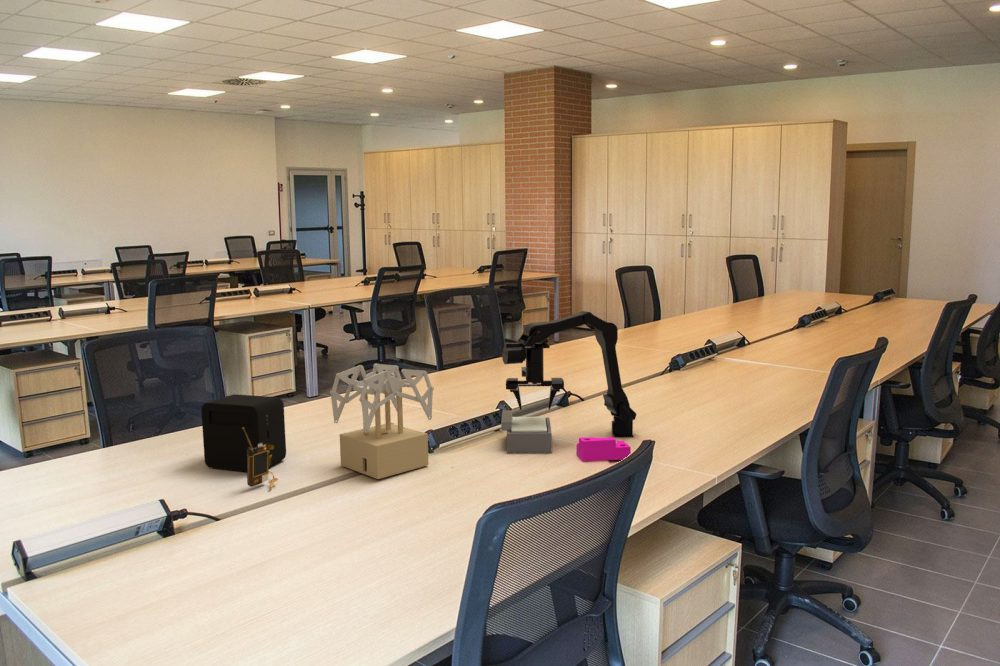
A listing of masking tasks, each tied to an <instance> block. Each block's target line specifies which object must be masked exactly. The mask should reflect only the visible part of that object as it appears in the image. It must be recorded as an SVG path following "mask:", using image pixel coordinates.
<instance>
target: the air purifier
mask: <svg viewBox="0 0 1000 666" xmlns="http://www.w3.org/2000/svg"><path fill="white" fill-rule="evenodd" d="M200 410H201V422H202V423H201V424H202V438H203V439H202V441H203V454H204V455H203V456H204V457H203V458H204V463H205V464H206V466H207V467H209V468H210V467H212V468H211V469H216V468H218V469H217V470H225V469H227V471H237V472H246V473H247V449H248V448H249V447H250V445H249V443H248V440H247V437H246V435H245V432H246V434H247V436H248V438H249V440H250V442H251V445H252V447H254V446H255V447H256V446H258V444H260V443H262V445H263V444H266V445H273V446H274V449H272V450H271V449H269V455H272V456H271V459H270V466H269V467H271V466H273V465H275V464H277V463H279V462H282V461H283V460H285V458H286V456H287V444H286V443H287V441H286V424H285V420H286V419H285V405H284V401H283V400H282V399H281V398H280V397H277V396H267V395H265V396H264V395H249V394H235V393H233V394H231V395H227V396H225V397H221V398H218V399H214V400H210V401H208V402H205V403H203V404H202V406H201V408H200ZM242 427H244V430H245V432H244V430H243V429H242ZM250 448H251V447H250ZM268 457H269V456H268Z"/></svg>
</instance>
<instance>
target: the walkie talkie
mask: <svg viewBox="0 0 1000 666" xmlns="http://www.w3.org/2000/svg"><path fill="white" fill-rule="evenodd" d="M242 429H243V430H244V427H242ZM244 432H245V430H244ZM245 435H246V437H247V440H248V443H249V445H250V447H251V448H250V447H249V448H248V449H247V472H246V474H247V477H246V479H247V486H248V487H256V486H258V485H260V484H263V483H265V482H267V481H268V480H269V474H271V475H272V479H271V480H269V481H268V484H270V485H269V486H270V487H268V489H271V488H273V486H274V483H276V482H278V480H279V478H278V477H275V475H274V473H273V472H272V471H270V470H269V468H270V467H271V466H270V459H271V456H272V455H269V449H271V450H272V449H274V446H273V445H266V444H263V445H262V443H260V444H258V446H256V447H255V446H254V447H252V445H251V442H250V440H249V438H248V436H247V434H246V432H245ZM268 456H269V457H268Z"/></svg>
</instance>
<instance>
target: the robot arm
mask: <svg viewBox="0 0 1000 666" xmlns="http://www.w3.org/2000/svg"><path fill="white" fill-rule="evenodd" d="M584 325H585V326H586V327H587V328H589V329H590V330H592V331H593V333H594V336H595V339H596V342H597V343H598V345H599V347H600V349H601V356H602V360H603V365H604V371H605V379H606V385H607V392H606V393H604V394H602V396H603V400H604V402H603V403H604V404H603V405H604V406H605V407H606V410H608V411H609V412H610V415H611V416H612V419H613V420H612V421H611V434H612V435H613V438H634V430H633V429H634V426H633V425H634V421H636V418H637V413H636V411H634V410H633V409H632V408H631V406H630V402H629V399H628V396H627V394H626V392H625V391H624V389H623V387H622V385H623V384H622V379H621V374H620V367H619V361H618V355H617V349H616V346H617V343H618V335H619V334H618V332H619V331H618V326H617V324H615V323H613V322H610V321H605V320H603V319H602V318H600V317H598V316H596V315H595V314H593V313H592V312H591V311H587V310H582V311H580V312H578V313H574V314H570V315H568V316H564V317H561V318H557V319H553V320H550V321H537V322H529V323H527V324H525V326H524V329H523V332H522V334H521V335H520V337H519V338H518V340H517V341H516V342H504V344H503V345H504V346H503V348H502V352H501V358H502V362H503V364H504V365H516V364H523V363H524V362H525V366H521V377H522V378H525V380H519V378H518V377H508V378H506V379H505V390H509V392H510V393H513V395H514V397H515V399H516V401H517V404H518V408H519V411H522V400H521V399H522V397H521V392H520V387H550V388H549V397H548V410H551V407H552V404H553V401H554V399H555V397H556V395H557V393H560V392H561V390H565V381H564V379H563V378H562V377H551V378H550V380H544V373H545V372H544V367H545V366H544V349H550V348H551V346H550V345H549V344H547V342H546V341H545V340H547V339H549V338H551V337H552V336H554V335H555V334H557V333H562V332H564V331H567V330H571V329H574V328H577V327H582V326H584Z"/></svg>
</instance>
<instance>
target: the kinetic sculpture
mask: <svg viewBox="0 0 1000 666" xmlns="http://www.w3.org/2000/svg"><path fill="white" fill-rule="evenodd" d="M372 368H373V369H372V371H371V372H369V373H366V370H365V368H364V366H363V365H362V364H359V365H357V366H353V367H352V368H348V369H346V370H343V371H341V372H337V373H336V374H335V379H334V381H333V384H332V389H331V390H330V391H329V394H330V399H331V407H332V408H331V409H332V413H333V415H332V416H333V422H334V424H338V422H339V420H340V417H341V415H342V413H343V410H344V408H345V405H346V404H349V403H350V402H351V401H352V400H354V399H356V398H357V397H359V396H360V397H359V400H358V401H359V402H360V403H361V412H362V422H363V424H362V425H363V428H362V429H361V428H360V429H357V430H353V431H348V432H347V431H346V432H343V433H339V452H340V454H339V455H340V466H341V467H344V468H347V469H349V470H352V471H355V472H357V473H360V474H363V475H366V476H368V477H371V478H373V479H376V480H379V479H384V478H387V477H391V476H394V475H397V474H398V475H399V474H401V473H406V472H409V471H413V470H416V469H420V468H423V467H426V466H429V434H428V433H426V432H423V431H420V430H416V429H412V428H409V427H406V426H405V427H404V417H403V415H404V414H403V413H404V412H403V410H404V409H403V398H404V399H406V400H409V401H410V400H411V401H414V402H417V403H419V404H420V405H421V407H422V410H423V412H424V413H425V416H426V417H427V419H428V421H431V420H432V418H433V417H432V416H433V393H434V392H433V391H435V388H434V387H433V386H432V384H431V381H430V378H429V375H428V372H427V371H426V370H419V369H409V368H408V369H407V368H402V369H401V371H399V366H398V365H394V364H383V363H374V364H373V367H372ZM400 372H401V373H402V375H403V376H404V378H405V379H402V376H401V373H400ZM360 373H361V376H362V378H363V380H357V379H358V377H359V375H360ZM350 375H352V376H351V378H350V377H349V376H350ZM412 376H415V378H414V379H413V378H412ZM423 378H424V381H425V383H426V387H427V390H425V392H424V393H423V395H421V394H420V392H419V390H418V387H417V385H418V383H419V382H420V381H421V380H422V379H423ZM340 380H341V381H342V382H344V383H345V384H347V385H348V386H347V389H346V391H345V394H344V396H342V395H341V394H340V393H338V392H337V388H338V386H339V382H340ZM352 388H353V391H355V392H354V393H353V394H351V391H352ZM403 388H412V390H413V393H414V395H415V396H414V395H411V394H409V393H408V394H407V393H406V392H405V393H404V392H403ZM350 394H351V395H350ZM381 394H384V398H383V399H381ZM369 395H372V396H373V395H374V396H373V397H374V399H373V401H372V402H370V401H369V397H368V396H369ZM426 400H427V403H426ZM338 402H340V403H339V405H338ZM391 403H392V405H393V407H394V409H395V411H396V412H397V424H395V423H394V422H391V417H392V416H391ZM383 405H384V412H385V415H384V416H385V419H384V420H385V422H384V424H381V422H382V421H381V419H382V418H381V407H382V406H383ZM369 411H370V412H369ZM374 419H375V421H374V424H375V425H374V426H371V425H372V422H373V420H374Z"/></svg>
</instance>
